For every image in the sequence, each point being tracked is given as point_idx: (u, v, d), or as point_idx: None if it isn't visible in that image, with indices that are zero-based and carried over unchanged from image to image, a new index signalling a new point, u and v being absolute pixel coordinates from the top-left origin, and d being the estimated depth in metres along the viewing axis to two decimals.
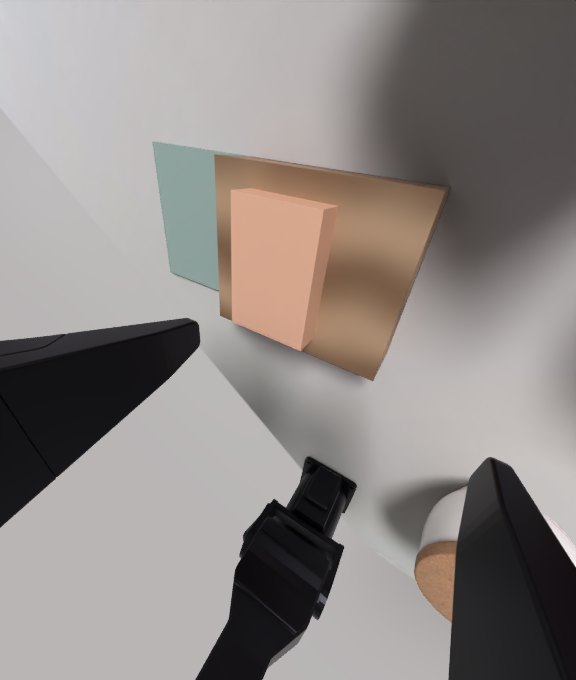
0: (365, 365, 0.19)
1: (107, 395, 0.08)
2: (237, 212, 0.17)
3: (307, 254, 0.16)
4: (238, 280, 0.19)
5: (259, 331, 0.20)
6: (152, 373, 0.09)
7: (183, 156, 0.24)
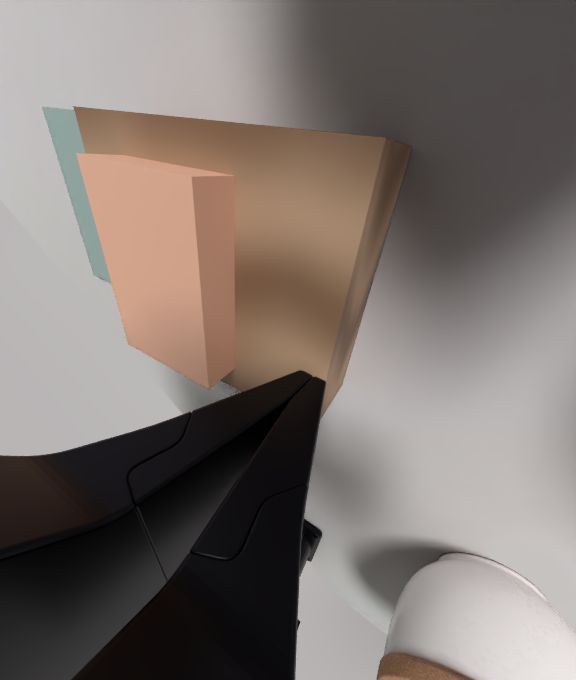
0: None
1: (233, 482, 0.06)
2: (92, 189, 0.11)
3: (186, 251, 0.10)
4: (120, 289, 0.13)
5: (159, 359, 0.15)
6: None
7: (76, 124, 0.18)
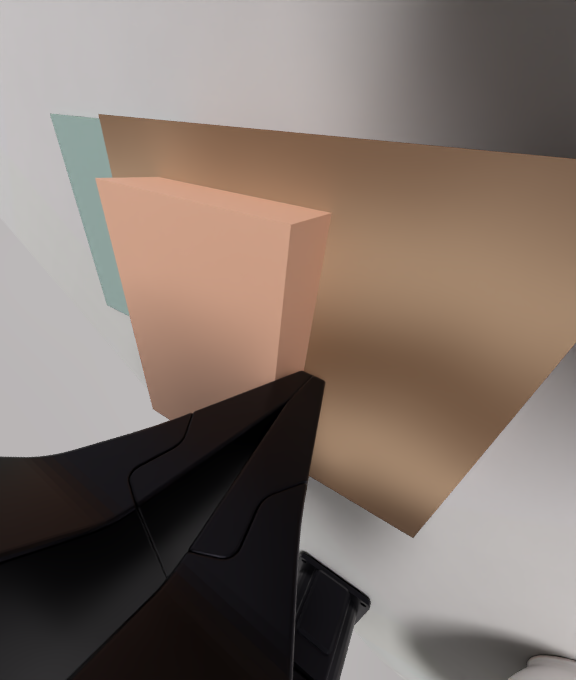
0: (399, 512, 0.10)
1: None
2: (117, 228, 0.08)
3: (261, 324, 0.07)
4: (147, 350, 0.10)
5: None
6: None
7: (92, 135, 0.15)
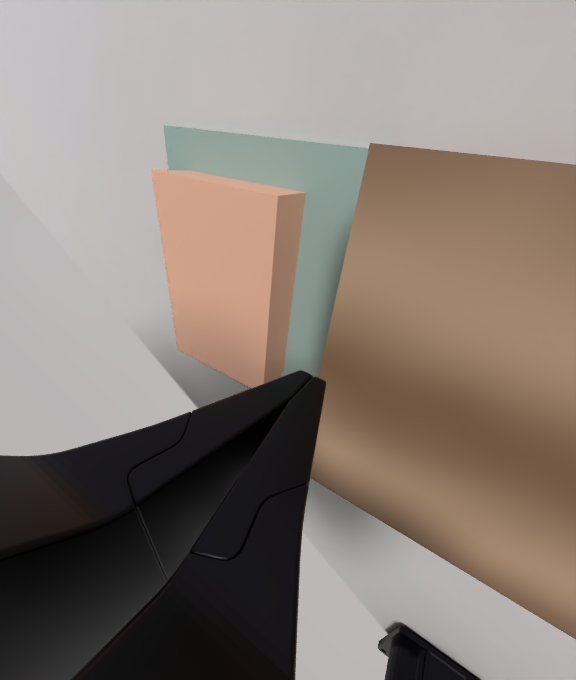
0: None
1: (233, 483, 0.06)
2: None
3: None
4: None
5: None
6: None
7: (227, 154, 0.11)
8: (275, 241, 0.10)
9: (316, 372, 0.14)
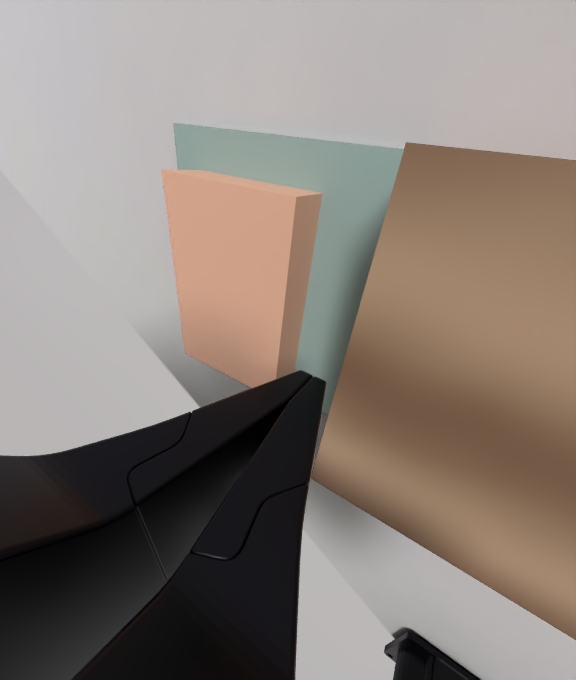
0: None
1: (233, 483, 0.06)
2: None
3: None
4: None
5: None
6: None
7: (240, 153, 0.11)
8: (292, 243, 0.10)
9: (327, 376, 0.14)
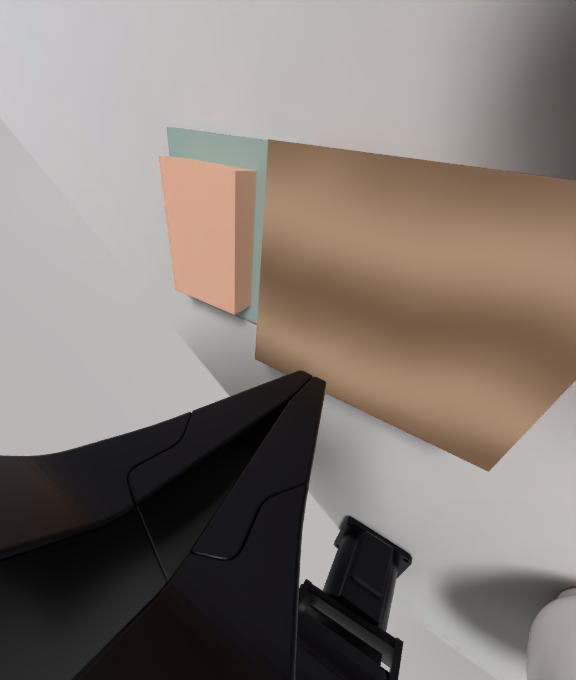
0: (480, 450, 0.13)
1: (233, 483, 0.06)
2: None
3: None
4: None
5: None
6: None
7: (208, 146, 0.17)
8: (236, 200, 0.16)
9: None
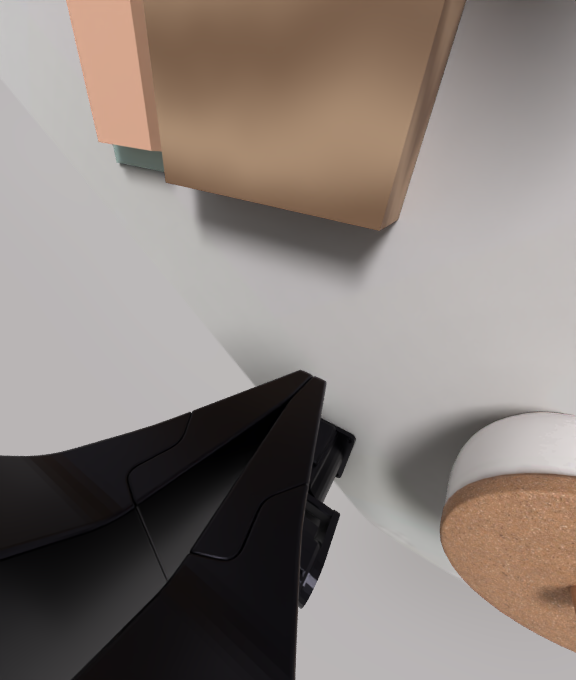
0: (368, 203, 0.12)
1: (233, 482, 0.06)
2: None
3: None
4: None
5: None
6: None
7: None
8: None
9: None
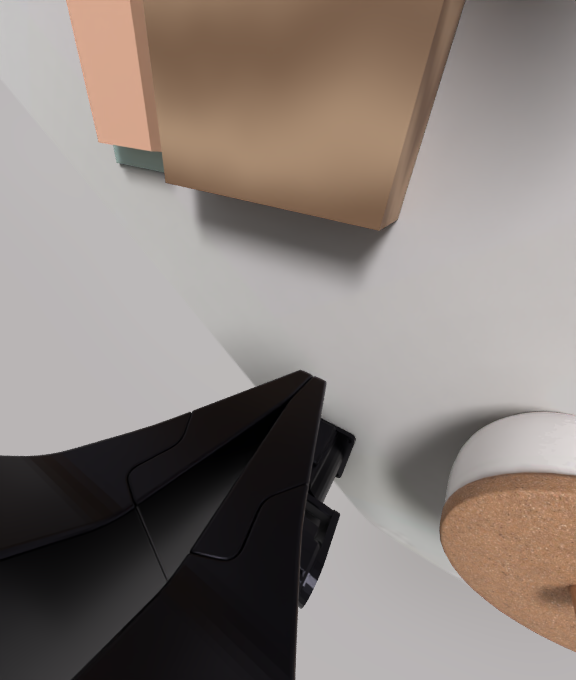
0: (367, 202, 0.12)
1: (233, 483, 0.06)
2: None
3: None
4: None
5: None
6: None
7: None
8: None
9: None
